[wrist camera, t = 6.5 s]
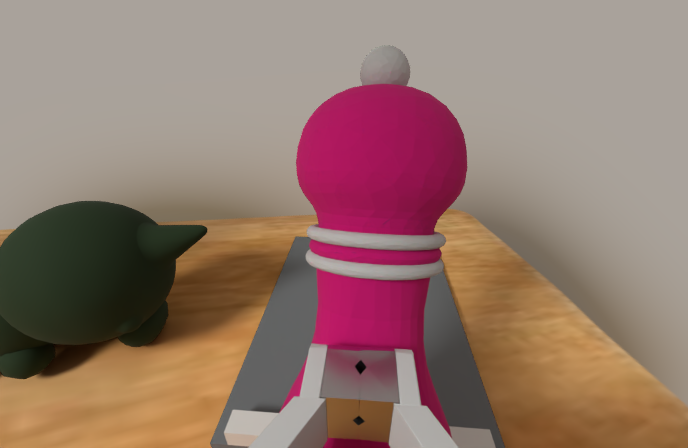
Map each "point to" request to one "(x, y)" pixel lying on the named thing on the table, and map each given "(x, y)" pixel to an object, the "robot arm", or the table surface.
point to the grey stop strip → (250, 424)
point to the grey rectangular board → (297, 334)
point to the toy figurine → (85, 281)
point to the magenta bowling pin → (379, 213)
